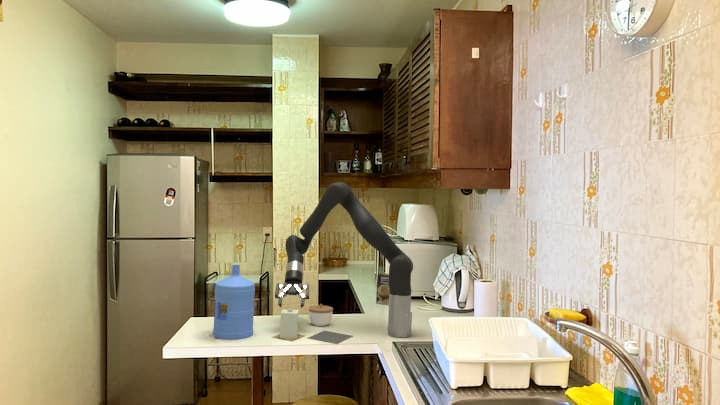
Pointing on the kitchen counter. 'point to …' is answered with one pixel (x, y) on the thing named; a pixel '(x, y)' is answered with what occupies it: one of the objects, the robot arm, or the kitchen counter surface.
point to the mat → (330, 337)
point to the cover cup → (289, 324)
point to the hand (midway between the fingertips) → (291, 306)
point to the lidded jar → (320, 315)
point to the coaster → (289, 339)
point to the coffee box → (382, 289)
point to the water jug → (234, 306)
